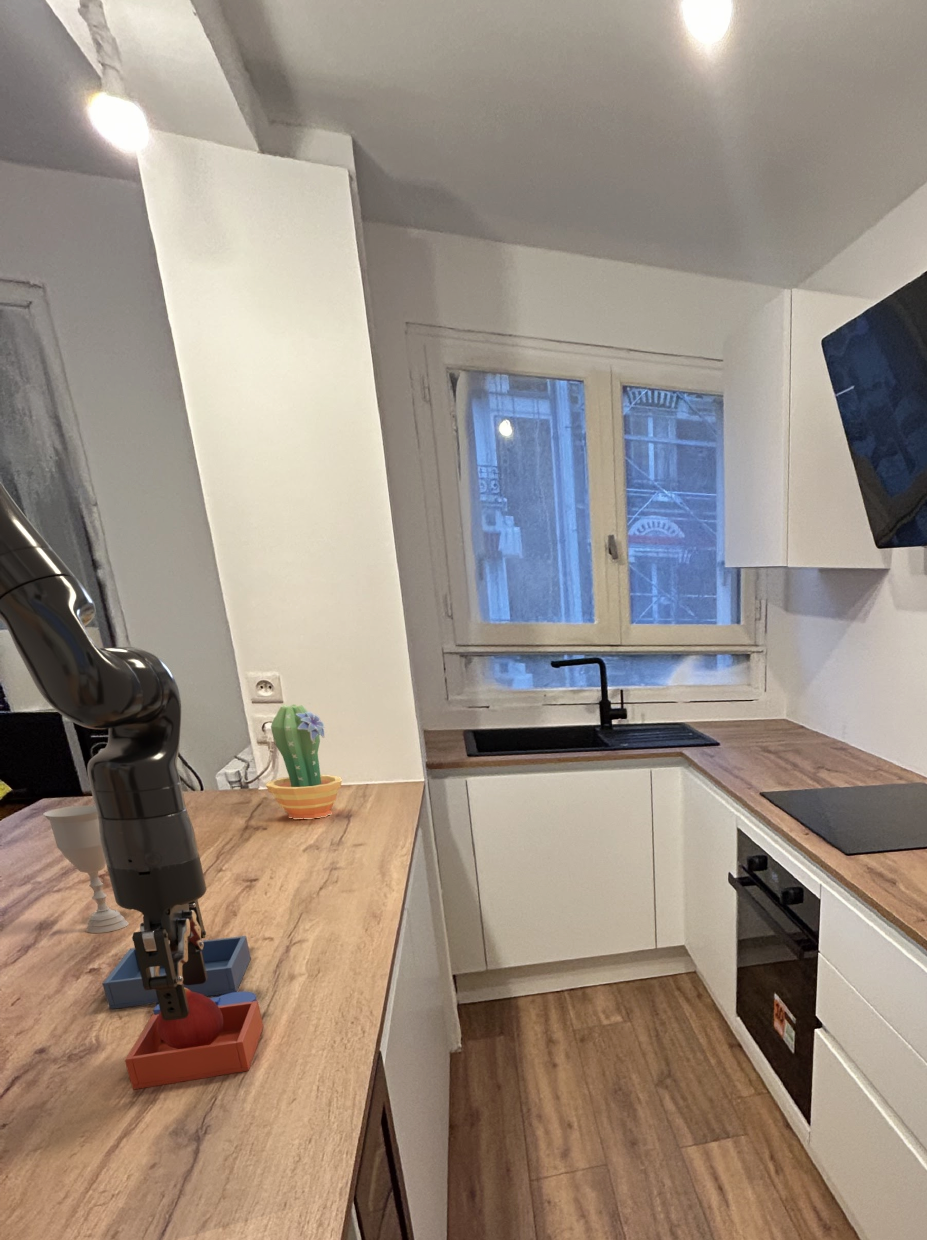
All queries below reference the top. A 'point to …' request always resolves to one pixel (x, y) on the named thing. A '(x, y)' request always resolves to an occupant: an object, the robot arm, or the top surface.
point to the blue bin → (223, 977)
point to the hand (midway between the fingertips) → (186, 1000)
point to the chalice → (85, 858)
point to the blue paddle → (226, 999)
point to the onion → (192, 1024)
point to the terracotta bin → (197, 1050)
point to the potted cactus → (301, 765)
